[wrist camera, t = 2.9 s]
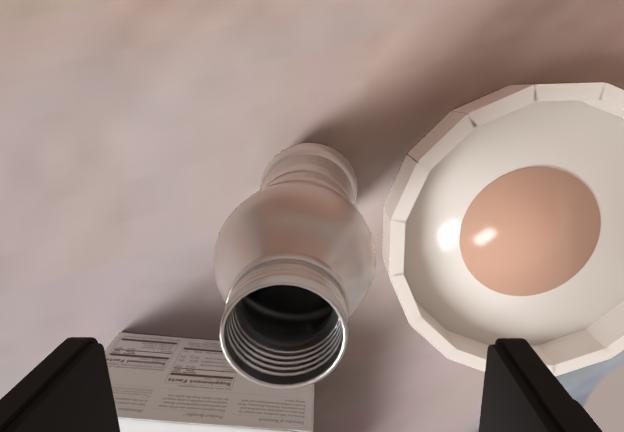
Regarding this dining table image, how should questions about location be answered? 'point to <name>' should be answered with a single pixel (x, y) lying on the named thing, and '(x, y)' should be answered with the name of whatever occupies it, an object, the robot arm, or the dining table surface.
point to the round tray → (515, 226)
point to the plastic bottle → (293, 269)
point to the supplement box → (196, 390)
